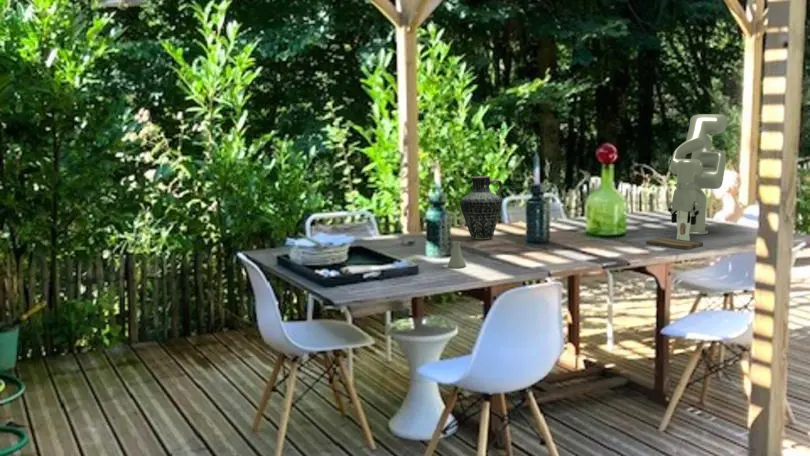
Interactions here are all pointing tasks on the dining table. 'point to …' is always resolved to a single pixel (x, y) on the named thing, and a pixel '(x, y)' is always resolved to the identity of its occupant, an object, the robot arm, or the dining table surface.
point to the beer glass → (683, 225)
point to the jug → (482, 208)
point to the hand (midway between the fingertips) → (683, 223)
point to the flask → (456, 257)
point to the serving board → (675, 243)
